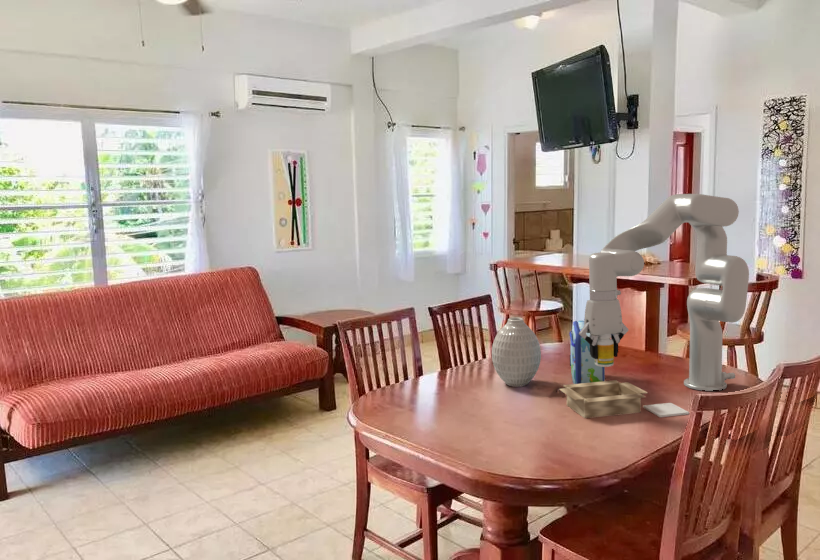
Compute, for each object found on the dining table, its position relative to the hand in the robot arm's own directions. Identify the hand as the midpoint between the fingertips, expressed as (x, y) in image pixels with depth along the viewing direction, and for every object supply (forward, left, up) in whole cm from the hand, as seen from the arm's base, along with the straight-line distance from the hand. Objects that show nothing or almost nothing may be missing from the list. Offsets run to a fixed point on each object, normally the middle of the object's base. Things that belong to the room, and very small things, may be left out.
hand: (604, 356), depth 196 cm
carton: (0, 0, -16) cm, 16 cm away
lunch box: (-7, -25, -16) cm, 30 cm away
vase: (+15, -32, -16) cm, 39 cm away
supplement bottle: (0, 0, -3) cm, 3 cm away
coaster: (-16, +7, -16) cm, 23 cm away
